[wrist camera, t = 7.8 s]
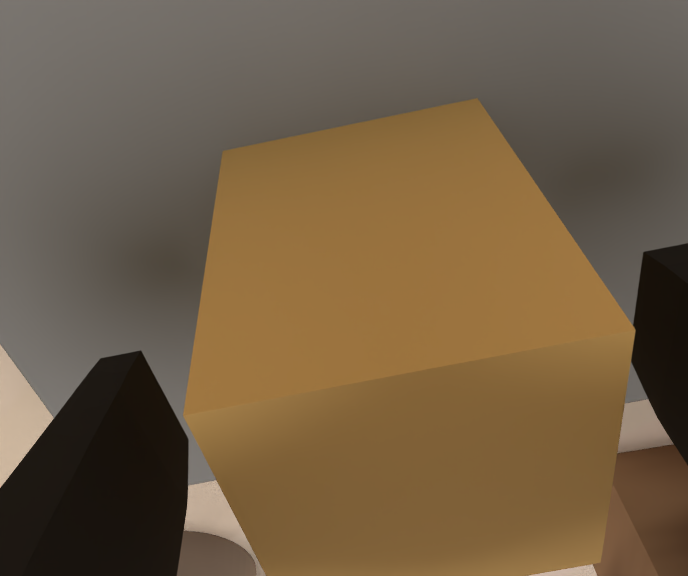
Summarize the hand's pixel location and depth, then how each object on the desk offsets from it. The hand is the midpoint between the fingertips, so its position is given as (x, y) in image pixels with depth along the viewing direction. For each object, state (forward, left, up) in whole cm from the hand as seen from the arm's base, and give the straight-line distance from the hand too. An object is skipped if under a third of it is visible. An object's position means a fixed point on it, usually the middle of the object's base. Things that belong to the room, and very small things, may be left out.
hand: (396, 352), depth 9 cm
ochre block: (0, 0, -4) cm, 4 cm away
